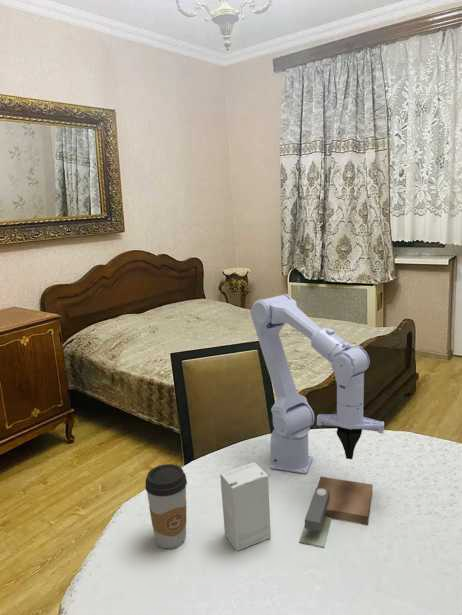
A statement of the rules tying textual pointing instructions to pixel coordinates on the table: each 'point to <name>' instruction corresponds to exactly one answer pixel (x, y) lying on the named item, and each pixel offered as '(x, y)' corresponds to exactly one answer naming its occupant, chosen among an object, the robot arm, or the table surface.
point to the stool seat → (340, 507)
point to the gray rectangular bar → (317, 509)
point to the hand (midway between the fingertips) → (349, 456)
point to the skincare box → (246, 505)
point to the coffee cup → (167, 504)
